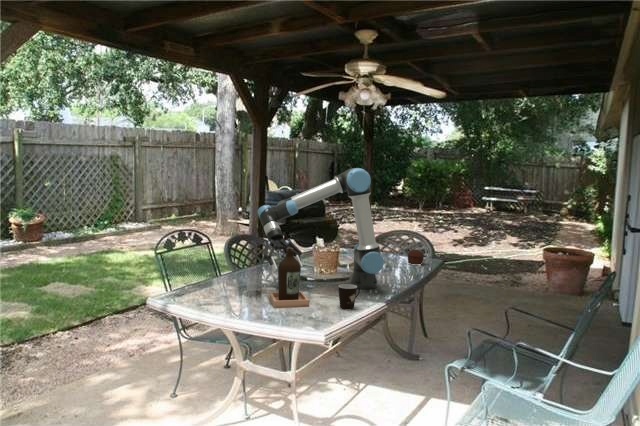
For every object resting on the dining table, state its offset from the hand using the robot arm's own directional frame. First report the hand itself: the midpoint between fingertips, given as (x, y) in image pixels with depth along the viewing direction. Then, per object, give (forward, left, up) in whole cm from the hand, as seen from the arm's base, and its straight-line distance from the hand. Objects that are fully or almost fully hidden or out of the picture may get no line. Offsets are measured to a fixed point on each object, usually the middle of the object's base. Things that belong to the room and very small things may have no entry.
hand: (288, 269), depth 235 cm
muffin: (-103, -84, -16) cm, 134 cm away
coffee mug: (-27, +12, -16) cm, 34 cm away
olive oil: (0, 0, -15) cm, 15 cm away
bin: (0, 0, -16) cm, 16 cm away
